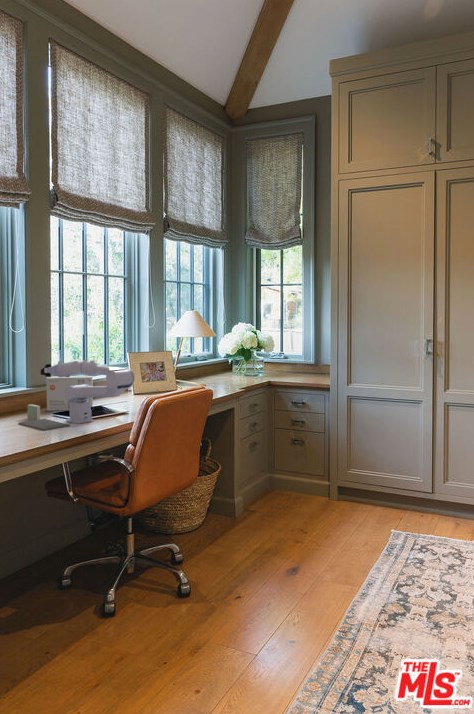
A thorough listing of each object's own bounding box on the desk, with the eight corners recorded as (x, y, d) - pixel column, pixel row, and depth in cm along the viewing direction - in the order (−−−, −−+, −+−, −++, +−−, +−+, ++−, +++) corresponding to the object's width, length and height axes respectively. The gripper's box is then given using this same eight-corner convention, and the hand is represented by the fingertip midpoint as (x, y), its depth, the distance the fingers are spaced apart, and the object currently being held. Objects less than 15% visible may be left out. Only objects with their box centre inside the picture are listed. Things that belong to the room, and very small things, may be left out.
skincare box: (46, 411, 283) (45, 377, 281) (47, 409, 288) (47, 376, 286) (92, 409, 287) (92, 376, 285) (93, 407, 292) (92, 375, 291)
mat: (70, 426, 247) (70, 424, 247) (43, 430, 238) (43, 429, 238) (44, 420, 261) (44, 418, 260) (18, 424, 252) (18, 422, 252)
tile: (40, 419, 262) (40, 406, 261) (36, 420, 260) (35, 406, 260) (31, 417, 266) (31, 404, 266) (27, 418, 265) (27, 404, 264)
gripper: (80, 360, 266) (62, 363, 275) (52, 359, 255) (34, 363, 263) (81, 376, 266) (62, 378, 274) (53, 376, 254) (34, 379, 263)
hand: (48, 372), depth 269 cm, fingers open, 7 cm apart
